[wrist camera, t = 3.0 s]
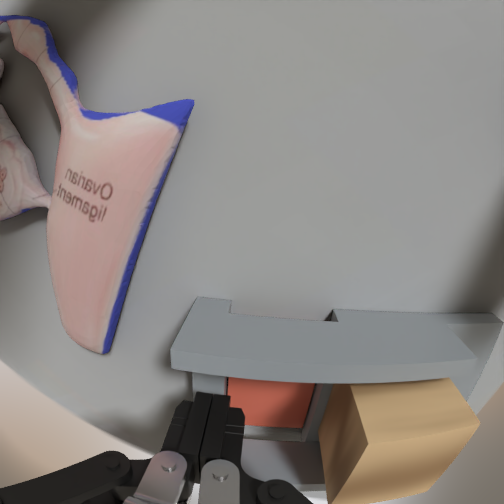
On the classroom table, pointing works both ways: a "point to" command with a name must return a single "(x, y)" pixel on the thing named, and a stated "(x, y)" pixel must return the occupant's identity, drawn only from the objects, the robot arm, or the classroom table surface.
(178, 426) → the robot arm
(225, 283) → the classroom table surface
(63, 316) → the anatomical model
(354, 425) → the oak block
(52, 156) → the classroom table surface
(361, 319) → the channel
